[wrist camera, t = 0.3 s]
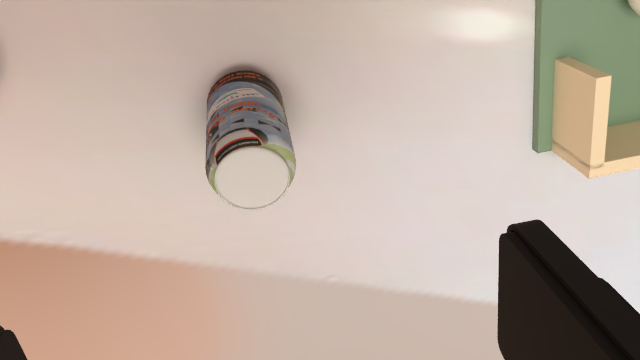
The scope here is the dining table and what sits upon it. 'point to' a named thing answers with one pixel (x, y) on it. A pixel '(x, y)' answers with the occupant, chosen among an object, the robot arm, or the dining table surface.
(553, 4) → the pitch
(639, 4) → the ball
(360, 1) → the dining table surface
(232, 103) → the beverage can
